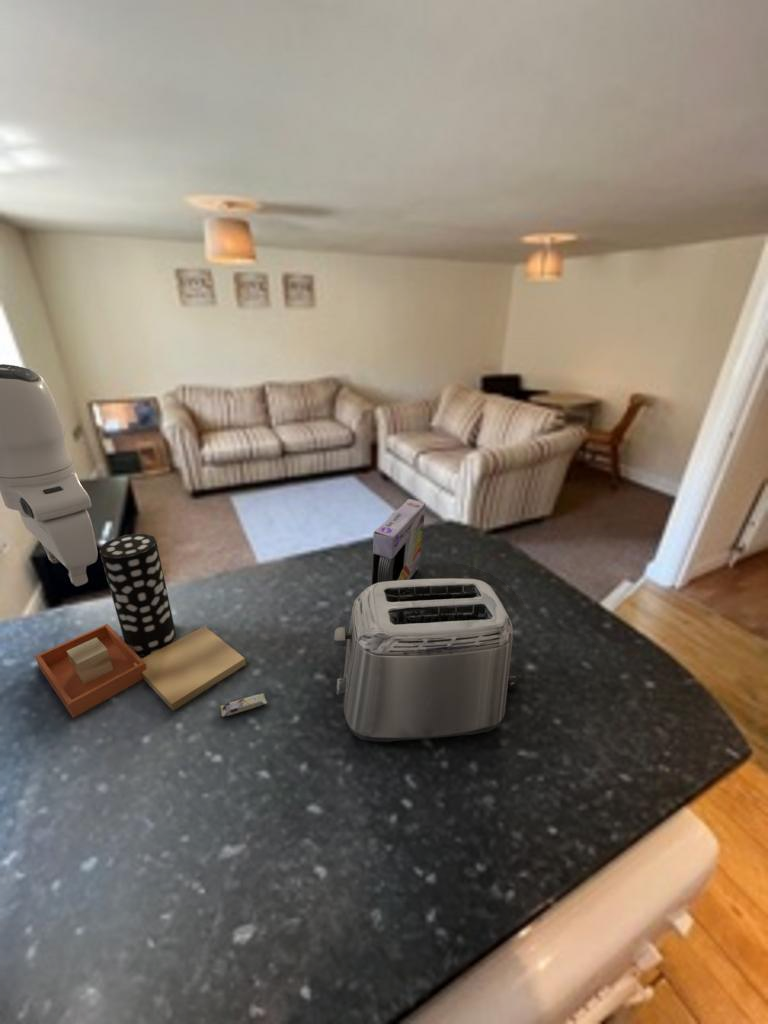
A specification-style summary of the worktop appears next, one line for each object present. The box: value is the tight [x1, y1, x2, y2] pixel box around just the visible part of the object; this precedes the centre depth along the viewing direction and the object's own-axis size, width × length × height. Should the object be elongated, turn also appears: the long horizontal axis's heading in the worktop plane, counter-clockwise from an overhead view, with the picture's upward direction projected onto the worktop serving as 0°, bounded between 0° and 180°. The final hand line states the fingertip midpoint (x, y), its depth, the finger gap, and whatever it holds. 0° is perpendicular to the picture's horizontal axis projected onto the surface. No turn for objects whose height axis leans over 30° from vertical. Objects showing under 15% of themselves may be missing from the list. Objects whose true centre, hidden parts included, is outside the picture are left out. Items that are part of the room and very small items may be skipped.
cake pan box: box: [370, 498, 427, 586], centre depth 97 cm, size 19×5×18 cm, turn 155°
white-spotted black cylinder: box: [99, 533, 177, 657], centre depth 78 cm, size 8×8×20 cm
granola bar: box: [219, 692, 268, 717], centre depth 69 cm, size 7×2×1 cm, turn 113°
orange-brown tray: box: [34, 623, 147, 719], centre depth 74 cm, size 15×11×3 cm
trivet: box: [133, 625, 247, 712], centre depth 76 cm, size 13×13×2 cm
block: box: [67, 637, 113, 685], centre depth 74 cm, size 4×4×4 cm
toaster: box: [333, 578, 517, 743], centre depth 68 cm, size 17×30×19 cm, turn 95°
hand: (68, 571), depth 68 cm, fingers open, 8 cm apart
